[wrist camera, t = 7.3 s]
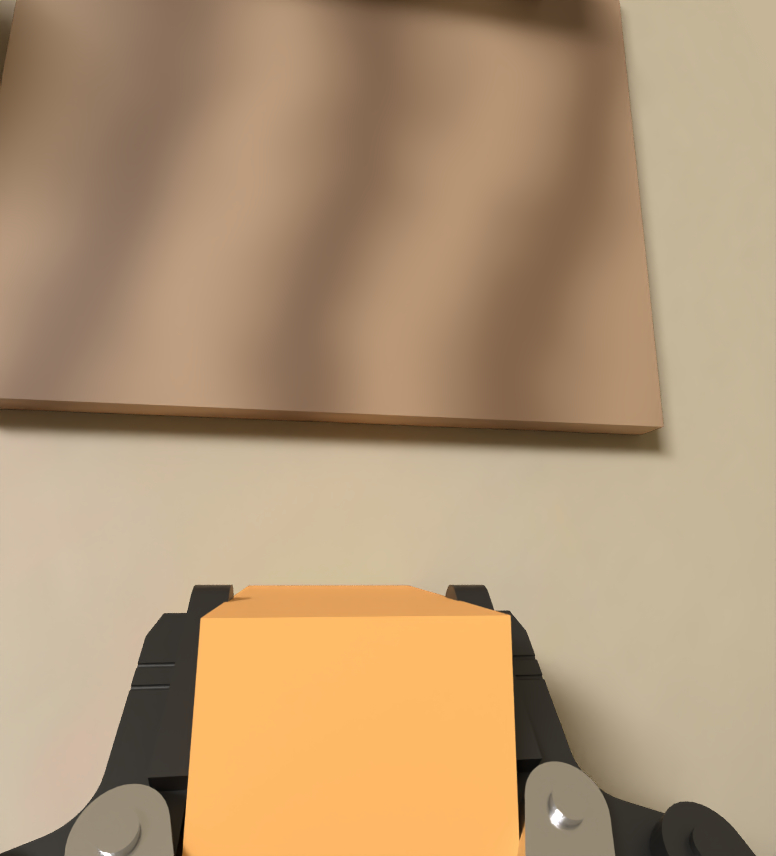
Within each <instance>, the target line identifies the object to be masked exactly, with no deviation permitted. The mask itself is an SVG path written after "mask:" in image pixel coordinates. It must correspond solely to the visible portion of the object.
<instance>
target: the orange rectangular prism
mask: <svg viewBox="0 0 776 856" xmlns="http://www.w3.org/2000/svg"><path fill="white" fill-rule="evenodd" d="M518 846H519V822H518V796H517V770H516V744H515V718H514V692H513V666H512V640H511V615H508V614H504V613H501V612H497V611H494V610H490V609H487V608H484V607H480V606H477V605H473V604H470V603H467V602H463V601H456V600H453V599H450V598H446V597H445V596H443V595H439V594H436V593H432V592H429V591H425V590H422V589H419V588H415V587H412V586H248V587H246V588H245V589H243V590H242V591H240V592H239V593H237V594H236V595H234V598H233V599H231V600H230V601H228V602H224V603H222V604H221V605H219V606H218V607H217V608H215V609H214V610H212V611H211V612H209V613H208V614H206V615H205V616H203V617H202V618H201V621H200V634H199V647H198V660H197V673H196V685H195V698H194V711H193V724H192V737H191V750H190V763H189V776H188V788H187V801H186V814H185V827H184V840H183V853H182V856H517V853H518Z"/></svg>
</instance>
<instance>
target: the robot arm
mask: <svg viewBox="0 0 776 856" xmlns="http://www.w3.org/2000/svg"><path fill="white" fill-rule="evenodd" d="M445 597H446V598H450V599H453V600H456V601H463V602H467V603H470V604H473V605H477V606H480V607H484V608H487V609H490V610H494V609H493V605H492V602H491V599H490V596H489V593H488V591H487V589H486V587H485V586H484V585H449V587H448V589H447V592H446V596H445ZM233 598H234V594H233V585H195V586H194V588H193V590H192V594H191V598H190V602H189V606H188V611H187V613H164V614H163V615H162V617H161V618H160V619H159V620H158V622H157V623H156V624H155V625H154V627H153V628H152V629H151V631H150V632H149V633H148V634H147V636H146V638H145V641H144V644H143V648H142V651H141V654H140V657H139V661H138V667H137V668H136V671H135V674H134V677H133V681H132V684H131V690H130V691H129V694H128V697H127V701H126V704H125V707H124V711H123V714H122V717H121V721H120V724H119V727H118V730H117V734H116V737H115V740H114V744H113V747H112V750H111V754H110V757H109V760H108V764H107V767H106V770H105V774H104V776H103V779H102V782H101V784H100V786H99V788H98V790H97V791H96V793H95V795H94V796H93V797H92V799H91V800H90V802H89V803H88V804H87V805H86V806H85V808H84V809H83V810H82V811H81V812H80V813H79V814H78V815H77V816H75V817H74V818H73V819H72V820H71V821H69V822H68V823H67V824H65V825H64V826H62V827H61V828H59V829H58V830H56V831H54V832H52V833H50V834H48V835H46V836H44V837H41V838H39V839H36V840H34V841H31V842H29V843H26V844H24V845H21V846H19V847H16V848H14V849H11V850H9V851H6V852H4V853H1V854H0V856H182V853H183V840H184V827H185V814H186V801H187V788H188V776H189V763H190V750H191V737H192V724H193V711H194V698H195V685H196V673H197V660H198V647H199V634H200V621H201V618H202V617H203V616H205V615H206V614H208V613H209V612H211V611H212V610H214V609H215V608H217V607H218V606H219V605H221V604H222V603H224V602H228V601H230V600H231V599H233ZM497 612H501V613H504V614H508V615H511V640H512V666H513V692H514V718H515V744H516V770H517V796H518V822H519V846H518V853H517V856H756V855H755V854H754V853H753V852H752V850H751V849H750V848H749V846H748V845H747V844H746V843H745V841H744V840H743V839H742V838H741V836H740V835H739V834H738V833H737V831H736V830H735V829H734V828H733V827H732V826H731V825H730V824H729V823H728V822H727V821H726V820H725V819H724V818H723V817H721V816H720V815H719V814H717V813H716V812H714V811H713V810H711V809H710V808H708V807H705V806H703V805H701V804H697V803H694V802H679V803H676V804H674V805H672V806H671V807H669V809H668V810H667V811H666V812H665V813H661V812H658V811H655V810H652V809H648V808H645V807H642V806H639V805H636V804H632V803H629V802H626V801H623V800H620V799H617V798H615V797H613V796H611V795H609V794H607V793H605V792H604V791H602V790H601V789H599V788H598V787H597V785H596V784H595V783H594V782H593V781H592V780H591V779H590V778H589V777H588V776H587V775H586V774H585V773H584V772H582V771H581V769H580V768H579V767H578V765H577V763H576V762H575V760H574V758H573V756H572V753H571V751H570V748H569V746H568V743H567V740H566V737H565V735H564V732H563V729H562V727H561V724H560V721H559V718H558V716H557V713H556V710H555V708H554V705H553V702H552V700H551V697H550V694H549V691H548V689H547V686H546V683H545V681H544V679H542V672H541V670H540V667H539V664H538V662H537V660H535V654H534V651H533V648H532V645H531V643H530V640H529V637H528V635H527V632H526V630H525V629H524V628H523V627H522V625H521V624H520V623H519V622H518V621H517V619H516V618H515V617H514V616H513V615H512V613H511V612H510V611H497Z"/></svg>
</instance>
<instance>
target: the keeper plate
mask: <svg viewBox="0 0 776 856" xmlns="http://www.w3.org/2000/svg"><path fill="white" fill-rule="evenodd" d="M0 409H20V410H44V411H69V412H94V413H118V414H143V415H168V416H193V417H217V418H242V419H267V420H291V421H316V422H341V423H365V424H390V425H415V426H439V427H464V428H489V429H513V430H538V431H563V432H587V433H612V434H637V435H641V434H644V433H647V432H650V431H653V430H656V429H658V428H661V427H664V426H663V416H662V407H661V397H660V387H659V378H658V368H657V359H656V349H655V339H654V330H653V320H652V311H651V301H650V291H649V282H648V272H647V262H646V253H645V243H644V234H643V224H642V214H641V205H640V195H639V186H638V176H637V166H636V157H635V147H634V138H633V128H632V118H631V109H630V99H629V90H628V80H627V70H626V61H625V51H624V42H623V32H622V22H621V13H620V3H619V0H16V4H15V10H14V15H13V20H12V26H11V31H10V37H9V42H8V47H7V53H6V58H5V64H4V69H3V74H2V80H1V85H0Z"/></svg>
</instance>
